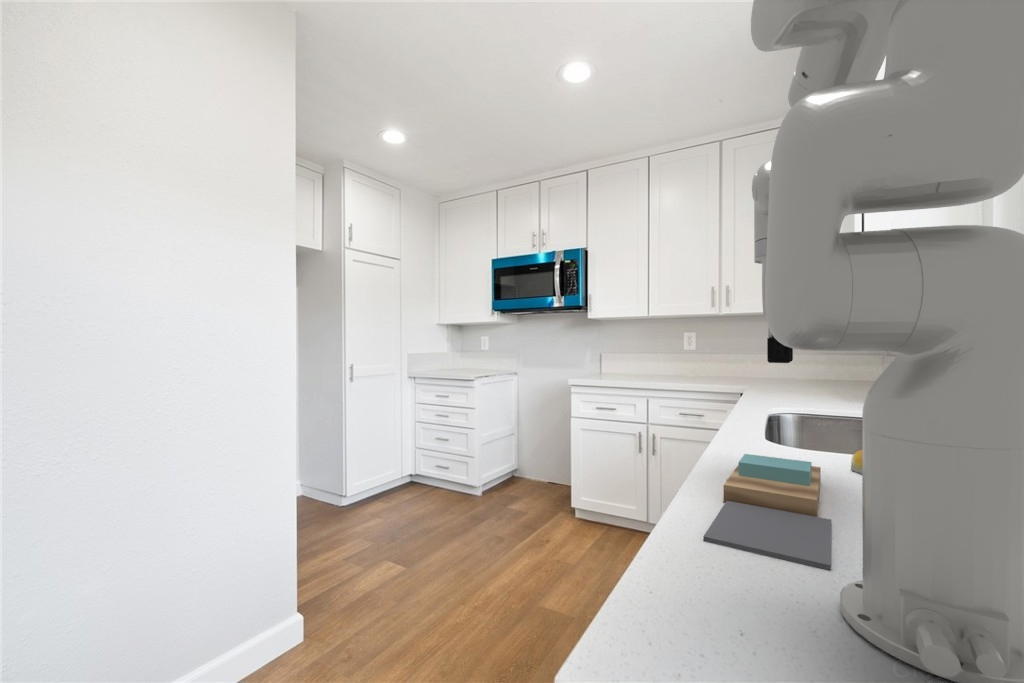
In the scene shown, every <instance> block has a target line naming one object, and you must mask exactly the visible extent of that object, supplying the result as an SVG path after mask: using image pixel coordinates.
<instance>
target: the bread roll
mask: <svg viewBox="0 0 1024 683" xmlns="http://www.w3.org/2000/svg"><path fill="white" fill-rule="evenodd" d="M850 468H851V471H853V472H854V473H856V474H860V475H862V449H860V450H857V451H856V452H855V453H854V454H852V457H851V462H850Z"/></svg>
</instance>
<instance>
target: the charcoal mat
mask: <svg viewBox="0 0 1024 683" xmlns="http://www.w3.org/2000/svg"><path fill="white" fill-rule="evenodd" d="M702 539H703V542H708V543H712V544H717V545H719V546H725V547H728V548H733V549H737V550H742V551H745V552H746V551H747V552H751V553H755V554H758V555H763V556H768V557H770V558H771V557H772V558H776V559H781V560H785V561H790V562H794V563H797V564H802V565H807V566H811V567H815V568H819V569H824V570H827V571H831V570H832V569H831V566H832V557H831V556H832V519H830V518H827V517H826V518H825V517H819V516H817V517H815V516H809V515H803V514H798V513H792V512H787V511H781V510H776V509H770V508H765V507H759V506H754V505H748V504H743V503H737V502H731V501H726V503H724V504H723V506H722V507H721V509H720V510H719V512H718V513H717V515H716V516H715V518H714V519H713V521H712V522H711V524H710V526H709V527H708V529H707V530H706V532H705V533H704V535H703V538H702Z"/></svg>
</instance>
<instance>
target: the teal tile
mask: <svg viewBox="0 0 1024 683" xmlns="http://www.w3.org/2000/svg"><path fill="white" fill-rule="evenodd" d="M738 465H739V476H746V477H753V478H759V479H766V480H773V481H779V482H786V483H793V484H799V485H806V486H810V481H811V466H812V461H806V460H797V459H791V458H790V459H789V458H783V457H774V456H767V455H756V454H748V453H744V454H743V456H742V457H741V458H740V459H739V461H738Z"/></svg>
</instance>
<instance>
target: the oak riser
mask: <svg viewBox="0 0 1024 683" xmlns="http://www.w3.org/2000/svg"><path fill="white" fill-rule="evenodd" d="M821 474H822V473H821V466H815V465H811V481H810V486H806V485H799V484H793V483H786V482H779V481H773V480H766V479H759V478H753V477H746V476H739V464H738V465H737V466H736V467H735V468H734V470H733V471H732V472H731V474H730V476H728V478H727V479H726V481H725V482H724V483H723V503H724V504H725V503H726V501H731V502H737V503H743V504H748V505H754V506H759V507H765V508H770V509H776V510H781V511H787V512H792V513H798V514H803V515H809V516H815V517H818V515H819V514H818V513H819V503H820V502H819V501H820V490H821V483H822V482H821V481H822V480H821V477H822V476H821Z"/></svg>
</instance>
